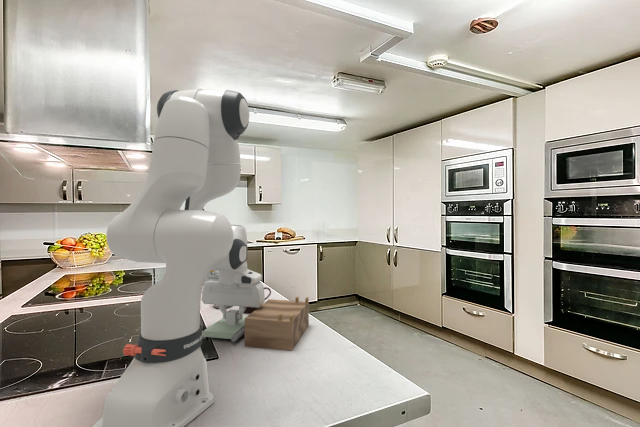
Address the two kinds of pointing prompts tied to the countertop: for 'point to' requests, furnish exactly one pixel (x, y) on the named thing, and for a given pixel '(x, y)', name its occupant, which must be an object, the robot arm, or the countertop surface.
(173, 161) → the robot arm
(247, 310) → the coffee mug
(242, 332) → the green slab
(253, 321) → the brown wooden box
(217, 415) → the countertop surface
